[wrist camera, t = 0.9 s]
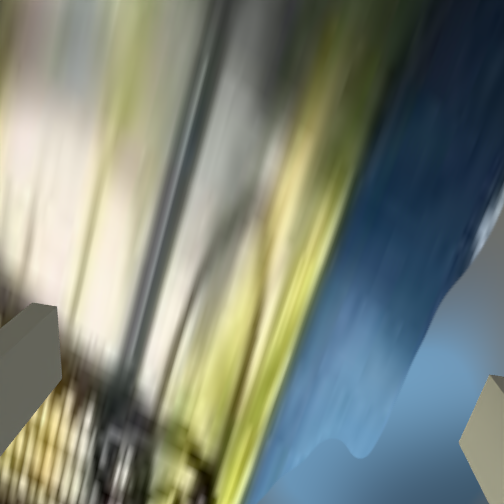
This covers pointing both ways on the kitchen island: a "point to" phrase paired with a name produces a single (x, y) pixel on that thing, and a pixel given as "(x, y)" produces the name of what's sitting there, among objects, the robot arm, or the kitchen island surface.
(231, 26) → the kitchen island surface
